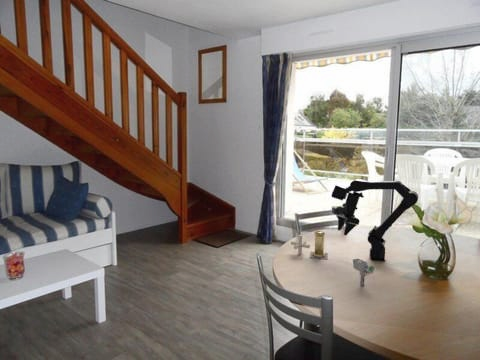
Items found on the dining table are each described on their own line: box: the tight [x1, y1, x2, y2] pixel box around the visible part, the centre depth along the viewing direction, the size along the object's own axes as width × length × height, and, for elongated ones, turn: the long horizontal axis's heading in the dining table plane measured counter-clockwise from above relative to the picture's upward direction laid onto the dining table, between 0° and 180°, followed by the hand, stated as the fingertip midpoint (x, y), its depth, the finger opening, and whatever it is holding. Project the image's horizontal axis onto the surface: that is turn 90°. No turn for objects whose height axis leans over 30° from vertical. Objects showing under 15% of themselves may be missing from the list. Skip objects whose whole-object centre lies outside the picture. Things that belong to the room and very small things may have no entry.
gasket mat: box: [309, 251, 329, 260], centre depth 185 cm, size 9×9×1 cm
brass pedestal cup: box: [312, 230, 326, 257], centre depth 184 cm, size 6×6×12 cm
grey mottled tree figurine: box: [352, 258, 375, 287], centre depth 150 cm, size 3×10×10 cm, turn 27°
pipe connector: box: [290, 234, 311, 256], centre depth 187 cm, size 10×10×10 cm
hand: (341, 232), depth 185 cm, fingers open, 9 cm apart
